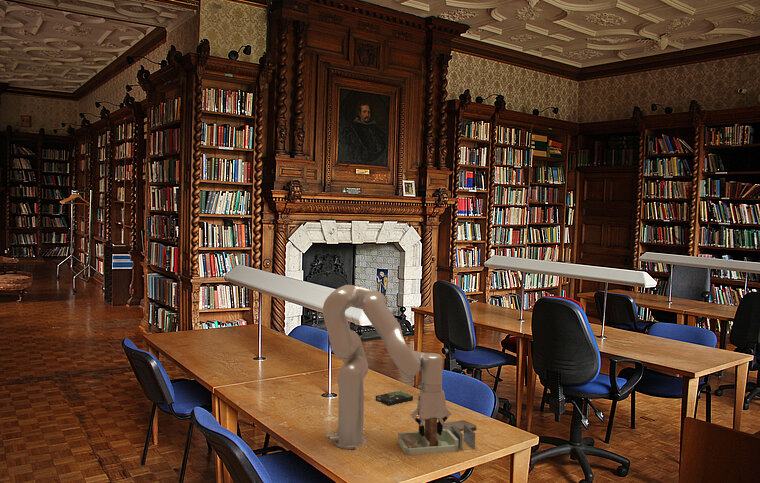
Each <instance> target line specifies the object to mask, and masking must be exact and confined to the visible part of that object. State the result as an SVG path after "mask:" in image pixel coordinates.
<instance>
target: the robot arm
mask: <svg viewBox="0 0 760 483" xmlns="http://www.w3.org/2000/svg"><path fill="white" fill-rule="evenodd" d="M350 308H355V309H359V310H362V312H363V313H364V315H365V316H366V317H367V319H368V321H369V322H370V324H371V325H372V326H373V328H374V329H375V331H376V332H377V334H378V335H379V337H380V338H381V340H382V343H383V345H384V347H385V349H386V351H387V353H388V355H389V357H390V358H391V360H392V362H393V363H394V365H396V367H397V369H398V370H399V371H400V373H401V374H403V375H404V376H406V377H408V378H409V377H410V378H411V377H416V376H417V375H418V374H419V373H420V371H421V383H420V384H417V388H418V389H419V392H418V393H419V394H418V396H417V398H418V399H417V405H416V406H417V407H416V408H415V409H414V411H412V413H411V414H410V417H411V418H412V419H413V420H414V421H415V422H416V423H417V424H418V431H419V433H420V435H421V436H422V437H423V436H424V429H425V419H430V418H437V433H438V434H439V435H441V432H442V431H443V424H444V423H446V421H447V420H448V418H449V417H451V415H452V413H451V412H450V410H448V409H447V406H446V405H447V404H446V394H445V391H444V390H443V363H444V362H443V360H444V359H443V356H442V355H441V354H439V353H436V352H429V353H428V352H422V351H418V350H417V351H416V350H410V348H409V346H408V344H407V342H406V341H405V339H404V335H403V331H402V330H403V329H402V327H401V325H400V323H399V321H398V320H397V318H396V317H395V316H394V314H393V313H392V311H391V310H390V308H389V307H388V305H387V297H386V296H385V295H384V293H382V292H380V291H378V290H375V289H371V288H366V287H361V286H358V285H353V284H344V285H342V286H340V287H338V288H336V289H334V290H333V291H332V292H331V293H330V294H329V295H328V296H327V297H326V299H325V300H324V302H323V306H322V316H323V321H324V324H325V327H326V331H327V334H328V339H329V341H330V344H331V349H332V352H333V354H334V356H335V357H336V358H338V359H340V360H342V365H341V366H340V368H339V370H338V373H337V384H338V385H337V386H338V419H337V421H338V422H337V423H338V427H337V428H338V429H336V431H335V432H332V433H331V432H330V433H329V432H328V433H325V439H326V440H327V439H328V440H329V439H330V440H329V441H333V444H334V445H335V446H336V447H337V448H341V449H345V450H356V449H357V448H356V447H359V446H363V445H365V444H366V443H367V442H368V439H367V438H366V436H364V415H365V414H364V410H365V408H364V407H365V405H364V400H365V396H364V394H365V392H364V380H365V378H366V376H367V375H368V372H369V363H368V359H367V356H366V352H365V349H364V345H363V342H362V339H361V337H360V335H359V334H358V333H357V332H356V331H354V330H352V329H351V328H350V323H349V320H348V318H347V316H346V311H347V310H348V309H350ZM417 416H418V417H419V418H418V417H417Z"/></svg>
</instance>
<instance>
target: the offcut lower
mask: <svg viewBox="0 0 760 483" xmlns="http://www.w3.org/2000/svg"><path fill="white" fill-rule="evenodd" d="M404 443H405V444H406V446H407V447H408V448H418V446H417V445H416V446H410V445H409V444H408V443H407V442H406V441H405V440H404Z"/></svg>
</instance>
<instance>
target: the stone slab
mask: <svg viewBox="0 0 760 483" xmlns="http://www.w3.org/2000/svg"><path fill="white" fill-rule="evenodd" d="M464 425H467V426H468V427H469V428H470V429H471V430H472V431H473V432H475V431H477V425H476V424H474V423H473V422H470V421H468V420H464V419H463V420H462V419H461V420H455V421H449V422H444V424H443V429H449V430H450V431H452V426H455V427H456V428H457V429H458V430H459V431H460V432H461V431H463V432H464ZM424 431H425V428H424Z"/></svg>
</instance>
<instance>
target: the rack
mask: <svg viewBox="0 0 760 483" xmlns="http://www.w3.org/2000/svg"><path fill="white" fill-rule="evenodd" d="M406 435H412V436H413V437H414V438H415V439H416V440H417V441H418V443H417V446H418V448H408V447H407V446H406V444H405V443H404V438H405V436H406ZM424 435H425V431H424ZM458 441H459V440H458V439H457V438H456V437H455V436H454V435H453V434H452V433H451V431H450V430H449V429H443V431H442V432H441V435H439V434H438V433H437V445H436V446H431V447H430V442H429V441H428V440H427V439H426V437H425V436H423V437H422V436H421V435H420V433H419V430H414V431H401V432H398V433H397V445H398V446H399V447H400V449H401V450H402V452H403V453H404V454H405V456H413V455H416V456H417V455H423V454H424V455H427V454H440V453H450V452H452V453H453V452H459V449H458Z"/></svg>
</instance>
